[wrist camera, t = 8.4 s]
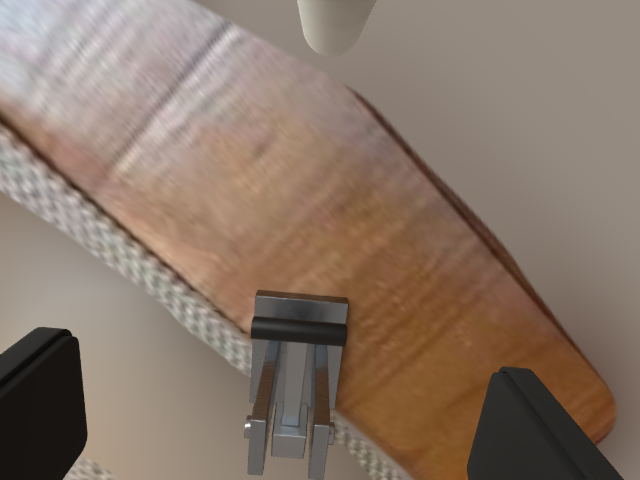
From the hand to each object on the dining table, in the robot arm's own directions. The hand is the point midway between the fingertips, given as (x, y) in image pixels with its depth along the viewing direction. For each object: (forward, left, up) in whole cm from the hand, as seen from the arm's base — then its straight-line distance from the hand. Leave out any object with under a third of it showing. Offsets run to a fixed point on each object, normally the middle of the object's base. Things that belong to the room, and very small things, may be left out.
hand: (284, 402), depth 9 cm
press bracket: (+9, +11, -24) cm, 28 cm away
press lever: (+6, +7, -14) cm, 17 cm away
